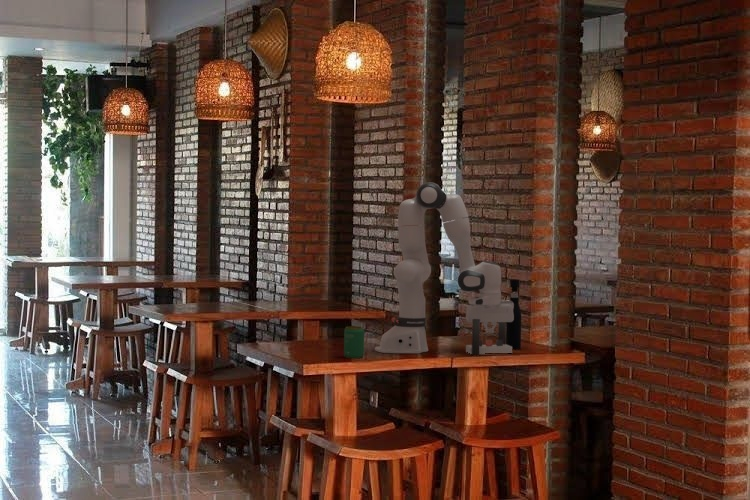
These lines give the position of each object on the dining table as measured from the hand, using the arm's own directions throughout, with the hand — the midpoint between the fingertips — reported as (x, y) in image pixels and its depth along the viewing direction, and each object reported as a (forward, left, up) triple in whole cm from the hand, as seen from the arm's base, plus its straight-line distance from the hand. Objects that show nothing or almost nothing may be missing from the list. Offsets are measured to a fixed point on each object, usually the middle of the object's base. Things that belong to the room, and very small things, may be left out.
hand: (489, 332), depth 444 cm
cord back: (+8, +7, -9) cm, 14 cm away
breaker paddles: (0, 0, -6) cm, 6 cm away
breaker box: (0, 0, -9) cm, 9 cm away
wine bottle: (+15, +12, -9) cm, 21 cm away
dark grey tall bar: (-8, -6, -9) cm, 13 cm away
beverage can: (-59, -6, -9) cm, 60 cm away
